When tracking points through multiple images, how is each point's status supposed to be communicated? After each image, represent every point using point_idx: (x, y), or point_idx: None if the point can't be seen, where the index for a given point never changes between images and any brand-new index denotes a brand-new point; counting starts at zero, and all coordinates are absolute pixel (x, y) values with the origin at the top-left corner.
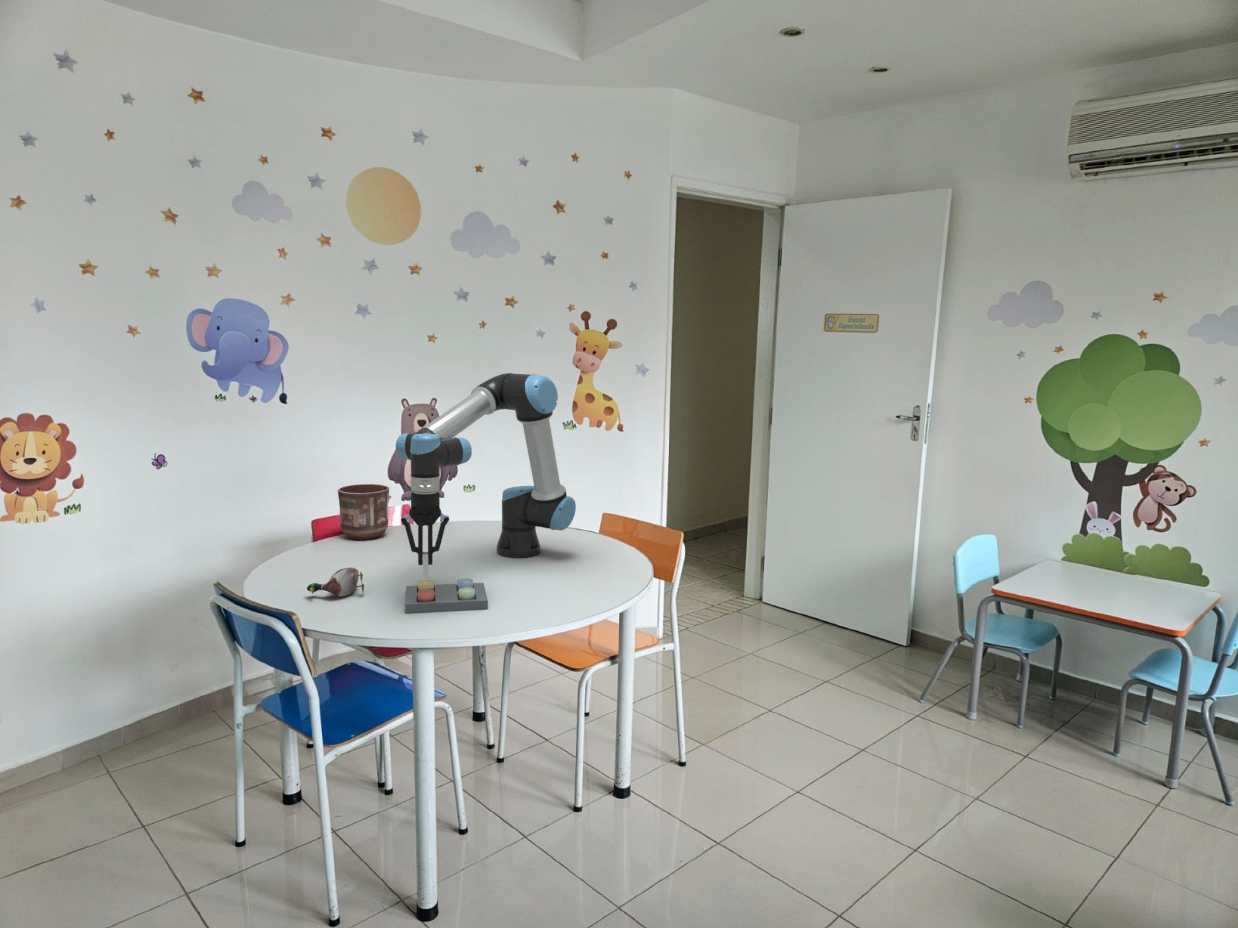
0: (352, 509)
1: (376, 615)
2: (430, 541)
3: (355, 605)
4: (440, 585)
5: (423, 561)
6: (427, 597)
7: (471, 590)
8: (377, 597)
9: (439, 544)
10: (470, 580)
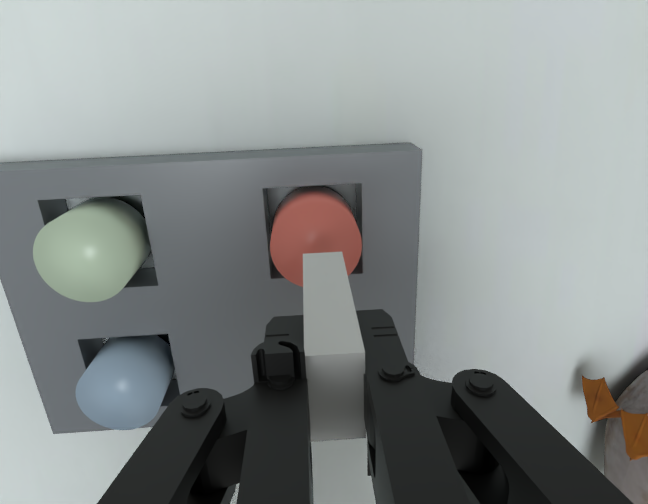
0: None
1: (543, 131)
2: (270, 491)
3: (617, 270)
4: None
5: (347, 312)
6: (305, 198)
7: (49, 242)
8: (519, 355)
9: (146, 457)
10: (90, 400)
